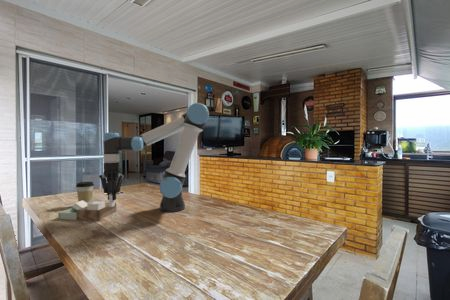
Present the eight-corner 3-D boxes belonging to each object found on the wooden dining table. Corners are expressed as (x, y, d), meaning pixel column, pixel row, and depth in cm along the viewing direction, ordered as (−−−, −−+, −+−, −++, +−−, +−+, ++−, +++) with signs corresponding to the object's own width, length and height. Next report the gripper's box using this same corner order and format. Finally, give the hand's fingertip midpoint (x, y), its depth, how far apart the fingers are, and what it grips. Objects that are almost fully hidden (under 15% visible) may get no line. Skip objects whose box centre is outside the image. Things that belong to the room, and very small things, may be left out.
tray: (97, 210, 136) (97, 204, 136) (76, 219, 119) (76, 213, 119) (81, 210, 137) (81, 204, 136) (58, 219, 120) (58, 212, 120)
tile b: (105, 207, 125) (105, 201, 125) (98, 210, 119) (97, 204, 119) (94, 206, 126) (94, 201, 126) (87, 209, 120) (87, 204, 120)
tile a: (82, 200, 135) (80, 204, 135) (75, 202, 129) (72, 207, 129) (90, 205, 134) (88, 210, 135) (83, 208, 128) (81, 213, 129)
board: (116, 211, 134) (116, 202, 134) (98, 220, 118) (98, 210, 118) (96, 210, 135) (96, 202, 135) (77, 219, 119) (76, 210, 119)
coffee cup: (97, 204, 150) (97, 181, 149) (87, 208, 140) (86, 184, 140) (83, 203, 151) (83, 181, 150) (72, 208, 141) (71, 183, 141)
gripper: (127, 161, 124) (127, 204, 125) (104, 161, 125) (104, 204, 126) (119, 162, 117) (119, 208, 117) (95, 162, 118) (95, 207, 118)
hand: (112, 206), depth 122 cm, fingers closed
